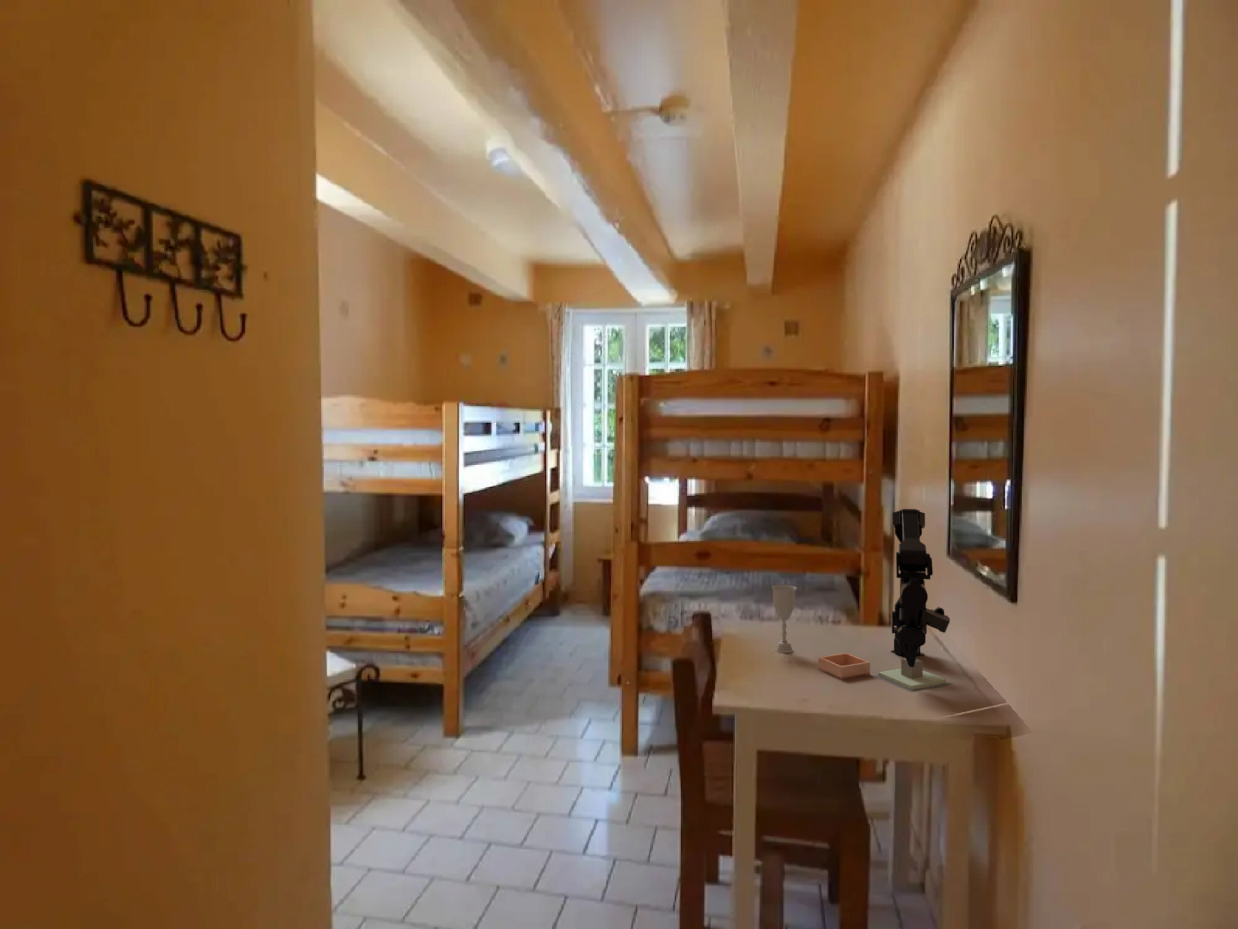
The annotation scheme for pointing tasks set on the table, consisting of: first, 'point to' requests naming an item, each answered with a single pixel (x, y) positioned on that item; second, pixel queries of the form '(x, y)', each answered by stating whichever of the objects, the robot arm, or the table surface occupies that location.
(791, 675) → the table surface
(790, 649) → the chalice
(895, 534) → the robot arm
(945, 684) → the mat
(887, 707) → the table surface
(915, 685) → the lid
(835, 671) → the dish
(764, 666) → the table surface
